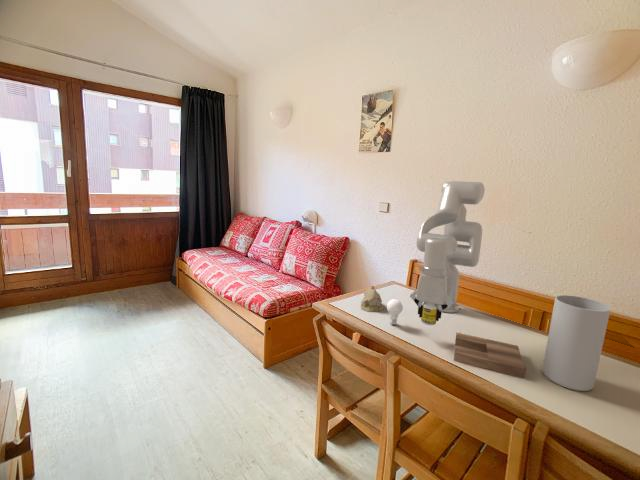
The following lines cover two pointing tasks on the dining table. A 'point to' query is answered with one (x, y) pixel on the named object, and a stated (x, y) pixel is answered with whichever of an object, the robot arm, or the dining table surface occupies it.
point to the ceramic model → (371, 300)
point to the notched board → (489, 354)
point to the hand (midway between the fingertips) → (429, 317)
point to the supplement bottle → (429, 313)
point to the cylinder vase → (575, 341)
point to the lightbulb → (394, 310)
